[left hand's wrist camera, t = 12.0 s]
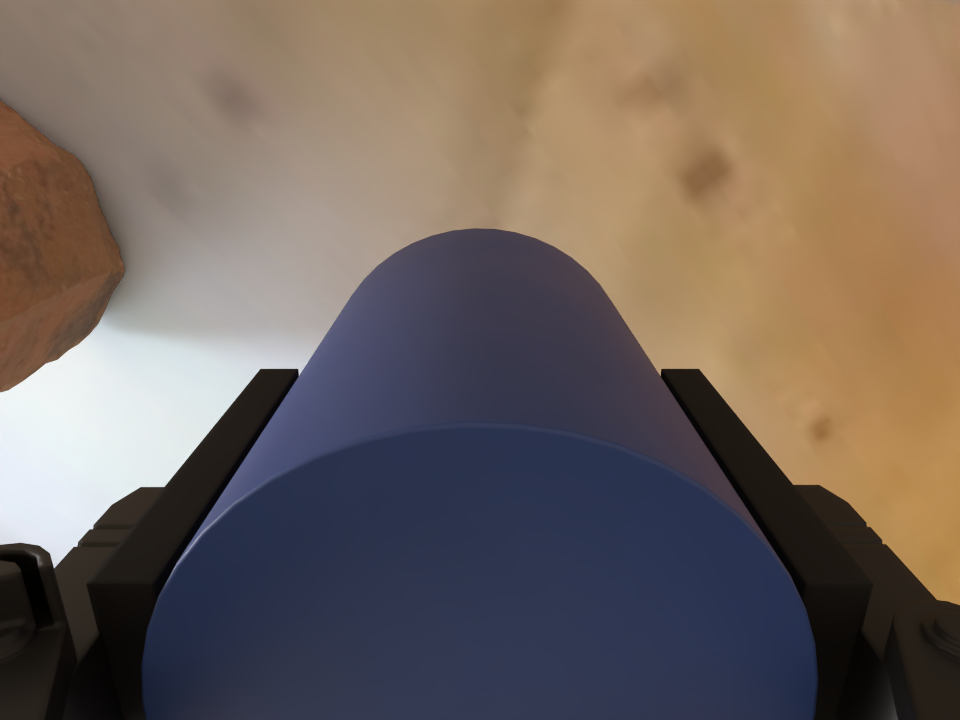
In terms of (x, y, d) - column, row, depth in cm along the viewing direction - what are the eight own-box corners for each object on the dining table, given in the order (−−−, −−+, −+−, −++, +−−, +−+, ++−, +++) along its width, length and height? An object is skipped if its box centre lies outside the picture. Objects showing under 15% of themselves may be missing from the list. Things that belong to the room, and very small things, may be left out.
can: (313, 234, 16) (60, 438, 6) (634, 221, 15) (871, 408, 6) (347, 509, 18) (207, 944, 9) (623, 499, 18) (778, 930, 9)
